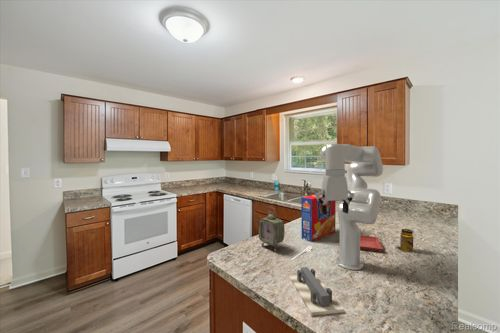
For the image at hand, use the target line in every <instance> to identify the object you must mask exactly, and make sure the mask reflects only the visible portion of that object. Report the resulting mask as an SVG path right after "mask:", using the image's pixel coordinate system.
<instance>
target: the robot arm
mask: <svg viewBox="0 0 500 333" xmlns="http://www.w3.org/2000/svg"><path fill="white" fill-rule="evenodd" d="M320 154H321V157H322V159H323V160H324V161H325V176H323V178H322V182H321V191H319V192H317V193H315V194H314V195H315V197H316V199H317V201H318V202H319V203H320V204H321V212H322V213H323V214H324V215H326V214H327V206H326V205H325V204H326V203H327V202H328V200H329V201H332V200H336V201H342V202H339V204H338V206H337V216H338V222H339V239H338V240H339V244H338V245H339V247H338V248H339V249H338V250H337V253H338V257H337V258H336V259H335V260H336V264H337V265H338V266H339V267H342V268H344V269H346V270H352V271H357V270H358V271H359V270H362V269H363V268H364V265H365V264H364V262H363V261H362V260H361V249H360V235H361V229H360V227H359V225H358V223H359V224H363V225H364V224H365V225H374V224H375V223H376V221H377V220H378V214H379V211H380V210H379V209H380V206H381V199H382V197H381V193H380V192H379V191H378V190H377V189H374V188H368V184H367V182H366V181H365V179H364V178H362V177H370V178H371V177H373V178H375V177H381V175H383V172H384V168H383V167H384V166H383V161H382V158H381V157H382V156H381V153H380V151H379V149H378V148H377V147H376V146H373V145H372V146H371V145H370V146H356V145H352V144H349V143H330V144H327V145H324V146H323V147H322V149H321V152H320ZM346 163H349V164H348V167H347V168H348V169H347V170H346V169H345V168H346V165H345V164H346ZM346 174H348V178H349V182H350V184H349V187H348V181H347V177H346ZM320 196H321V197H322V198H323V199H322V200H321V199H320Z"/></svg>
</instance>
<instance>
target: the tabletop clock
mask: <svg viewBox="0 0 500 333" xmlns="http://www.w3.org/2000/svg"><path fill="white" fill-rule="evenodd" d="M269 208H271V209H273V210H274V212H273V211H269ZM266 210H267V213H269V214H267V216H266V217H263V218H260V219H259V220H258V223H257V224H258V225H257V228H258V229H257V230H258V238H259V241H261V242H262V243H260V244H261V246H262V247H263V246H265V244H266V245H270V246H272V247H274V249H273V251H274V252H277V247H276V246H277V245H278V244H281V243H283V241H284V239H285V223H284V221H283V220H282V219H280V218H277V217H276V215H275V214H276V212H277V211H276V208H275V207H273V206H268V207H267V208H266Z"/></svg>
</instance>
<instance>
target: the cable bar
mask: <svg viewBox="0 0 500 333" xmlns="http://www.w3.org/2000/svg"><path fill="white" fill-rule="evenodd" d="M300 271H301V272H302V279H303V280H304V282H305V283H306V285H307V286H308V288H309V289H310V291H311V290H314V291H315V292H316V300H317V301H318V303H319V304H320V306H321V307H329V306H330V295H329V294H328V293H327V292H326V290H325V289H324V288H323V286H322V285H321V284H320V283H319V281H318V280H317V279H316V277H315V276H314V275H313V274H312V272H311V269H309V267H307V266H305V267H304V266H303V267H300Z"/></svg>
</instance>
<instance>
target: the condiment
mask: <svg viewBox="0 0 500 333" xmlns="http://www.w3.org/2000/svg"><path fill="white" fill-rule="evenodd" d="M400 230H401V231H400V239H399V241H400V242H399V243H400V244H399V246H398V245H395V250H396V251H397V252H402V253H407V254H414V255H415V254H416V253H415V251H414V234H413V232H414V231H413V229H409V228H401V229H400Z"/></svg>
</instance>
